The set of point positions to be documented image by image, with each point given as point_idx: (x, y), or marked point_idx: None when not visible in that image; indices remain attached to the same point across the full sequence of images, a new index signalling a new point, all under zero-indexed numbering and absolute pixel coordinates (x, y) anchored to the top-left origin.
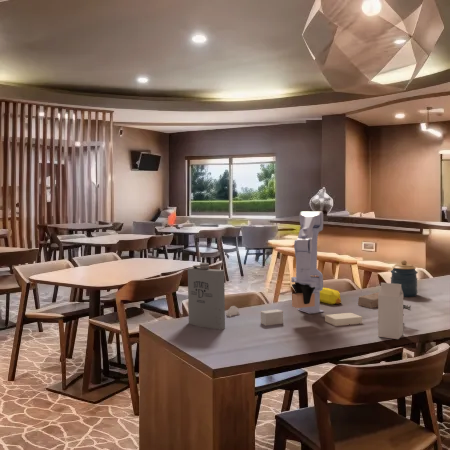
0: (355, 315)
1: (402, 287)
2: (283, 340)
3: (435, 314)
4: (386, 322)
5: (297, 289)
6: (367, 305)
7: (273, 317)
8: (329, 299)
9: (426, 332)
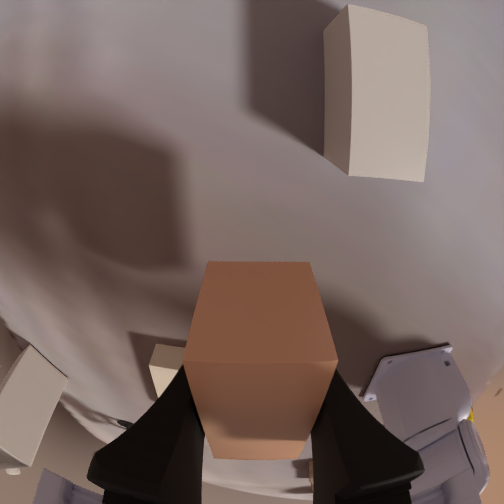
0: None
1: None
2: (28, 33)
3: None
4: (7, 376)
5: (330, 448)
6: None
7: (338, 79)
8: None
9: (75, 415)
